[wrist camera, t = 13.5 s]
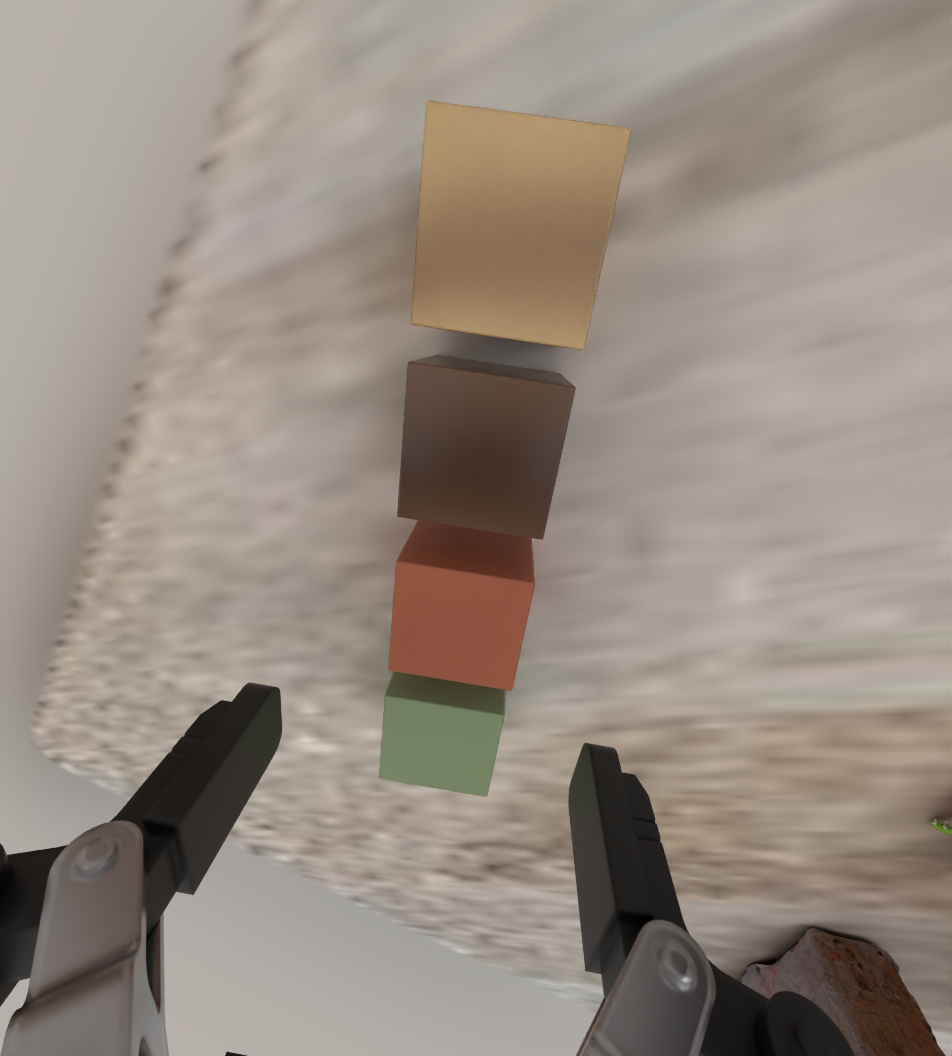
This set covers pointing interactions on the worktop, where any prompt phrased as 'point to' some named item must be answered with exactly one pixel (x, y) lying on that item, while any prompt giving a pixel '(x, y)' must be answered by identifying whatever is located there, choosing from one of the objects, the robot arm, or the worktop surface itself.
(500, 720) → the sage block
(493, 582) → the terracotta red block
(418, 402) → the walnut block
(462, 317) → the maple block
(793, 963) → the food item
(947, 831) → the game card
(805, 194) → the worktop surface
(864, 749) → the worktop surface
